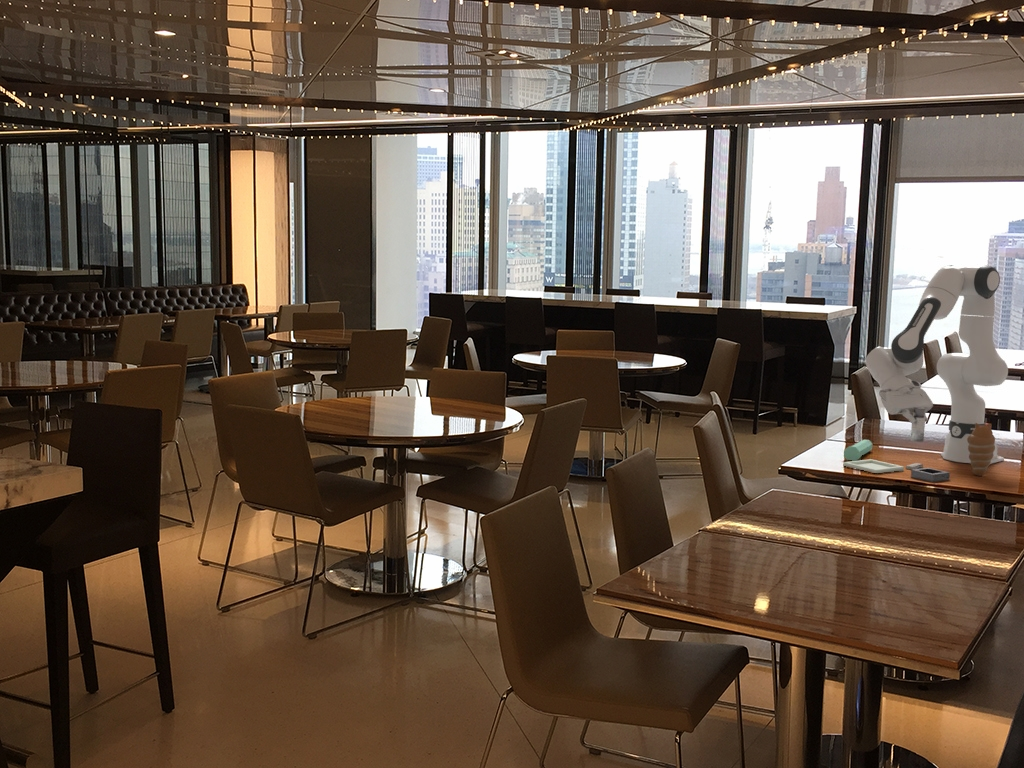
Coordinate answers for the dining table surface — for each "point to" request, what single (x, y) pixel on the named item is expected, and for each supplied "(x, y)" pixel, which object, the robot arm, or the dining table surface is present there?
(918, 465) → the drift key
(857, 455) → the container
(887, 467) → the tray
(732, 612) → the dining table surface
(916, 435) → the grey capped bottle
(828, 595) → the dining table surface
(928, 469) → the socket collar
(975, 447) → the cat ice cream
